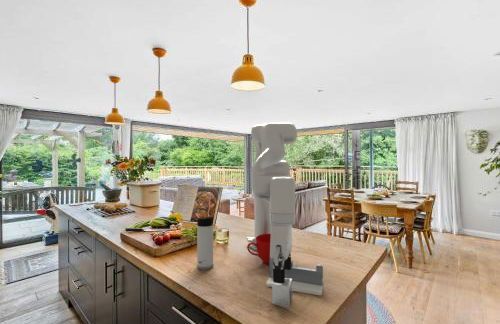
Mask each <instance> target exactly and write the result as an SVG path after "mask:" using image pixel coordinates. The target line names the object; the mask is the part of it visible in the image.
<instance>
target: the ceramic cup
mask: <svg viewBox="0 0 500 324" xmlns="http://www.w3.org/2000/svg"><path fill="white" fill-rule="evenodd" d="M270 240H271V234H262V235H259V236H257V237H256V243H253V242H248V244H247V246H246V250H247V252H248V253H250V254H251V255H253V256H256V257H259V259H260V260H261V261H262V262H263V263H264V264H265V265H268V266H270ZM252 244H253V245H255V246H256V248H257V251H256V252H257V253H256V252H253V251H251V250H250V246H252ZM279 257H281V256H279Z"/></svg>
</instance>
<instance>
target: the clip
mask: <svg viewBox="0 0 500 324" xmlns="http://www.w3.org/2000/svg"><path fill="white" fill-rule="evenodd" d="M291 300H292V301H293V291H292V279H290V278H285V283H284V284H281V283H275V282H273V283H272V287H271V304H272V305H274V306H275V305H276V306H281V307H286V308H290V305H291Z"/></svg>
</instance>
